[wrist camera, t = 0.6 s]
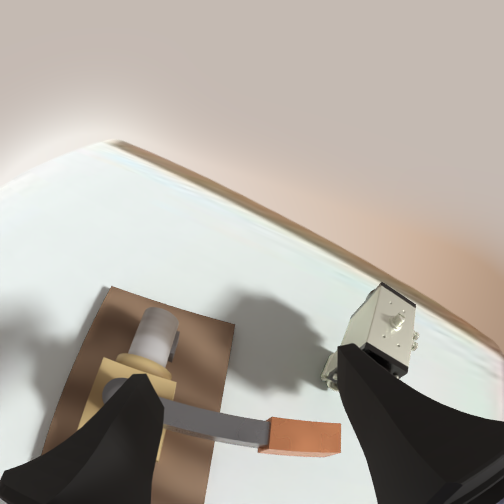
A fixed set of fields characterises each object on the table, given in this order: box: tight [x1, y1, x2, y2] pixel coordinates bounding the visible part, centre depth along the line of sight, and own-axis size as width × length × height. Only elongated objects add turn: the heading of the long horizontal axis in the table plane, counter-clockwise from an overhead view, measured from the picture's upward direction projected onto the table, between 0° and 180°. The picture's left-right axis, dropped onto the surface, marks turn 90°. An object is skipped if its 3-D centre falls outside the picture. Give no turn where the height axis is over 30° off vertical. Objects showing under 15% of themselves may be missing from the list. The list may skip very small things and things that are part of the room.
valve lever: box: [102, 378, 341, 457], centre depth 15 cm, size 15×3×2 cm, turn 83°
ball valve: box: [41, 286, 235, 504], centre depth 18 cm, size 26×14×7 cm, turn 173°
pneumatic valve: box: [321, 282, 419, 392], centre depth 26 cm, size 6×12×12 cm, turn 149°
